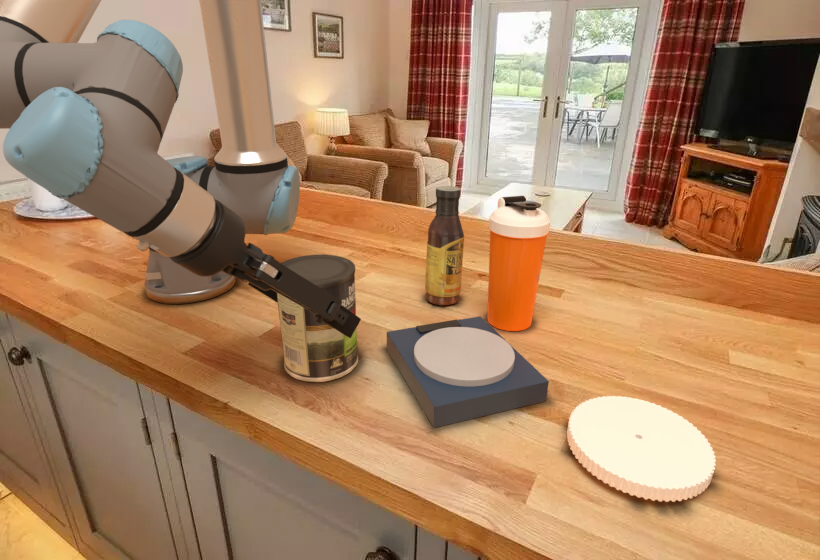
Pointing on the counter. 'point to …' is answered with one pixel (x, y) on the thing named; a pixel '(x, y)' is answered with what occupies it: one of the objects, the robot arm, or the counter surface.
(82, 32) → the robot arm
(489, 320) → the shaker bottle
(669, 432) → the plastic lid
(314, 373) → the coffee can
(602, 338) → the counter surface
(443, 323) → the kitchen scale
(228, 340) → the counter surface
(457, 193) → the sauce bottle
